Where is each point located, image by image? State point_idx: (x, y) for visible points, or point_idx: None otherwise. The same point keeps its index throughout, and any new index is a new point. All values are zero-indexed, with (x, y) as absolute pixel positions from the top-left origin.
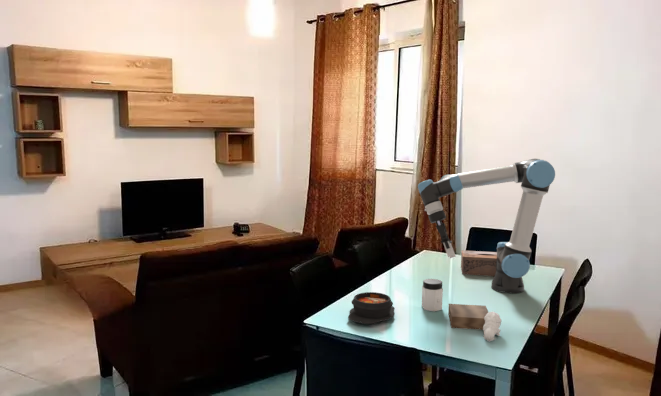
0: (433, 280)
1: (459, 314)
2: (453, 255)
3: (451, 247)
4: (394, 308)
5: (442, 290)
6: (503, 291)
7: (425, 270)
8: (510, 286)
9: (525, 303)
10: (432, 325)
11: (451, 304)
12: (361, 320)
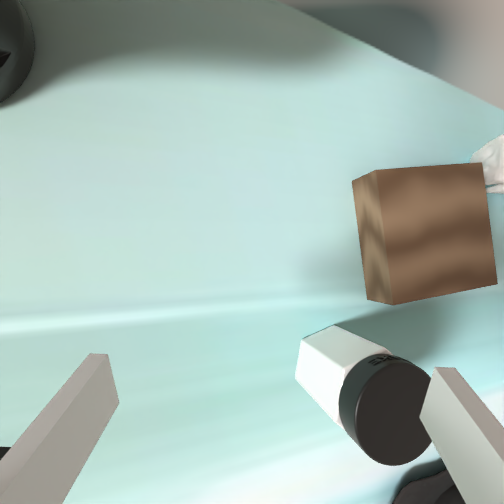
0: (386, 413)
1: (476, 261)
2: (101, 381)
3: (21, 481)
4: (415, 481)
5: (381, 346)
6: (27, 65)
7: None
8: (10, 10)
9: (169, 9)
10: (461, 334)
11: (398, 294)
12: None
